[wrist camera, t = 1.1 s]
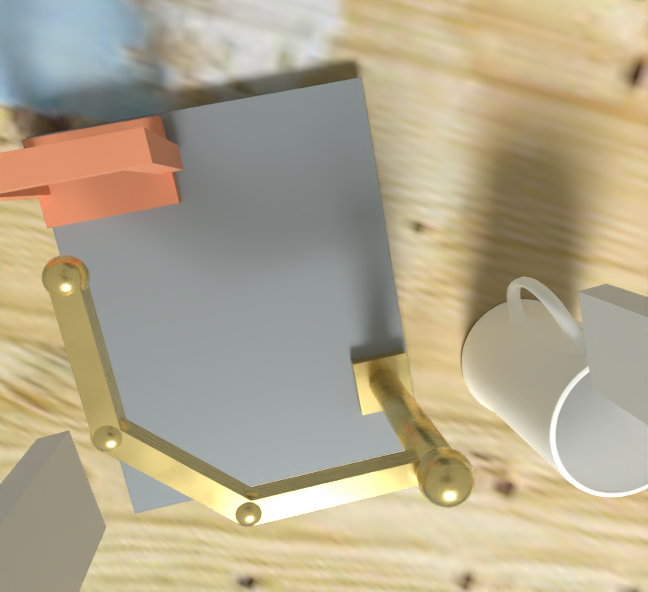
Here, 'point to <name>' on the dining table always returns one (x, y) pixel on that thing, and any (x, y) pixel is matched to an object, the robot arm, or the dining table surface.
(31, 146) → the orange rectangular frame
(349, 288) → the board
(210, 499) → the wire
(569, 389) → the mug
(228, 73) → the dining table surface
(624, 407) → the robot arm
